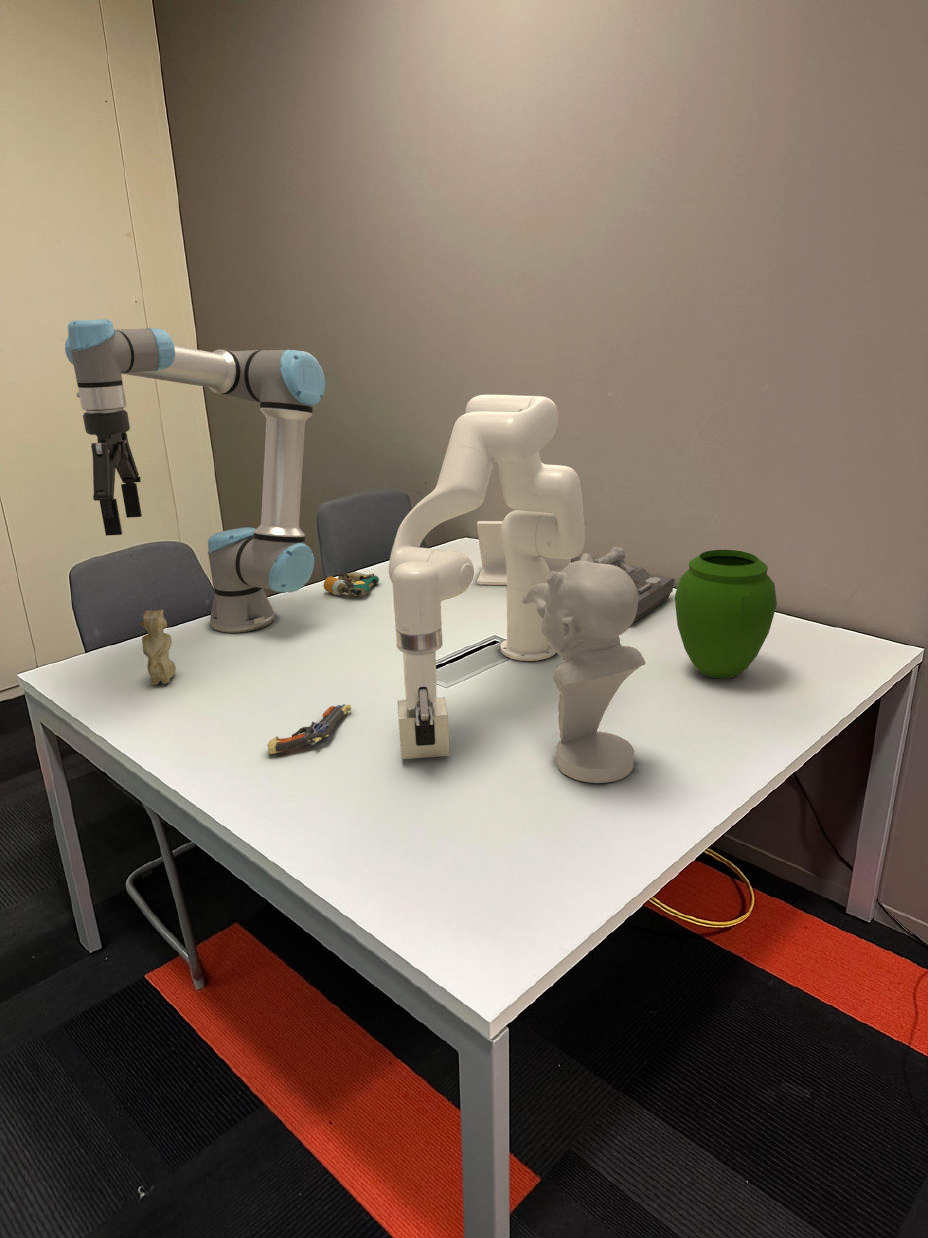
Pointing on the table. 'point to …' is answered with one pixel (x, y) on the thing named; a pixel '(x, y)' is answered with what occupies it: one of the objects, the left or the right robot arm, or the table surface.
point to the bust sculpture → (589, 662)
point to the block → (409, 737)
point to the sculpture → (157, 647)
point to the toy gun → (310, 731)
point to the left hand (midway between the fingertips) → (124, 525)
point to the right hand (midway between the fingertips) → (424, 732)
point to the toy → (641, 582)
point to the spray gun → (350, 583)
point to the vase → (724, 611)
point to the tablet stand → (501, 555)
